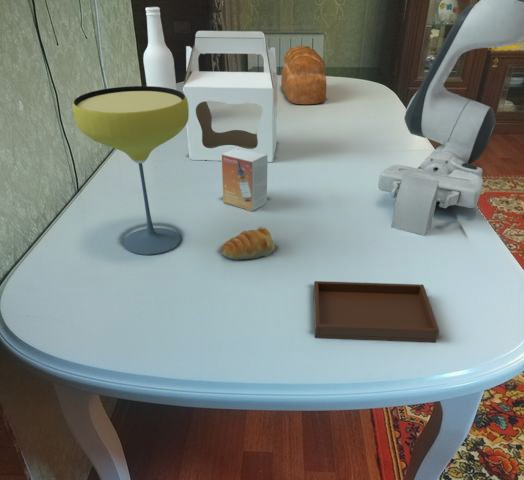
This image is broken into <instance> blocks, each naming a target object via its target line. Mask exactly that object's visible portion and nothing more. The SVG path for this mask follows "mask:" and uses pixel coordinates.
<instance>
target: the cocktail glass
mask: <svg viewBox="0 0 524 480" xmlns="http://www.w3.org/2000/svg"><path fill="white" fill-rule="evenodd" d="M72 111H73V116H74V120H75V124H76V126H77V128H78V129H79V130H80V132H81V133H82V134H83V135H85V136H86V137H87V138H90V139H91V140H92V141H94V142H96V143H99V144H101V145H104V146H106V147H109V148H112V149H115V150H118V151H121V152H122V153H125V155H127V156H128V158H130V159H131V161H133V162H134V163H135V164H138V168H139V169H138V170H139V176H140V182H141V189H142V194H143V203H144V209H145V216H146V218H145V219H146V228H142V229H138V230H136V231H133V232H131V233H129V234H128V235H126V236H125V238H124V239H123V241H122V244H123V247H124V249H125V250H126V251H128V252H130V253H132V254H135V255H141V256H154V255H161V254H165V253H168V252H170V251H172V250H174V249H176V247H178V246H179V245H180V244H181V241H182V238H181V235H180V233H179V232H177V231H175V230H173V229H171V228H166V227H154V224H153V221H152V216H151V211H150V205H149V199H148V191H147V186H146V181H145V180H146V179H145V172H144V166H143V164H144V163H145V162H146V161H147V160H148V158H149V156H150V154H151V153H152V151H153V150H155V149H156V148H157V147H159V146H161V145H163V144H165V143H167V142H168V141H170V140H172V139H173V138H174V137H176V136H178V135H179V134H180V133H181V131H182V130H183V129H184V128H185V127H186V126H187V125H186V124H187V122H188V116H189V109H188V102H187V98H186V96H185V94H184V92H183V91H180V90H178V89H177V90H175V89H170V88H164V87H154V86H147V85H129V86H118V87H110V88H109V87H108V88H103V89H97V90H93V91H90V92H86V93H83V94H81V95H78V96H77V97H75V99H74V100H73V102H72Z"/></svg>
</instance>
